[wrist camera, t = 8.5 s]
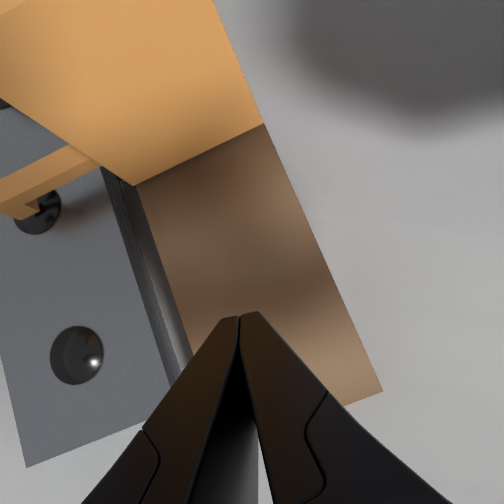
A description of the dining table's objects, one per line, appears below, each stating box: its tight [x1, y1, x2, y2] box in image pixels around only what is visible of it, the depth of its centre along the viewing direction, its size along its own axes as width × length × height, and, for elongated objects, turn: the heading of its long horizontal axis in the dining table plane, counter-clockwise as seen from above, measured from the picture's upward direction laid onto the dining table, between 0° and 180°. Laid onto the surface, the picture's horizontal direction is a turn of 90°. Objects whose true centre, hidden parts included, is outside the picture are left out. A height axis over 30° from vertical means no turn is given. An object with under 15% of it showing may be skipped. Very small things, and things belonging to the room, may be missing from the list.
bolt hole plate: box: [0, 98, 181, 468], centre depth 20 cm, size 20×7×2 cm, turn 22°
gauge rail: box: [135, 123, 383, 406], centre depth 14 cm, size 21×12×12 cm, turn 22°
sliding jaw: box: [0, 0, 264, 220], centre depth 14 cm, size 3×12×9 cm, turn 112°
